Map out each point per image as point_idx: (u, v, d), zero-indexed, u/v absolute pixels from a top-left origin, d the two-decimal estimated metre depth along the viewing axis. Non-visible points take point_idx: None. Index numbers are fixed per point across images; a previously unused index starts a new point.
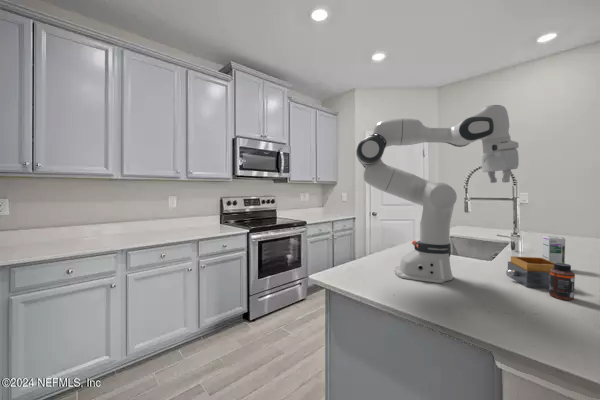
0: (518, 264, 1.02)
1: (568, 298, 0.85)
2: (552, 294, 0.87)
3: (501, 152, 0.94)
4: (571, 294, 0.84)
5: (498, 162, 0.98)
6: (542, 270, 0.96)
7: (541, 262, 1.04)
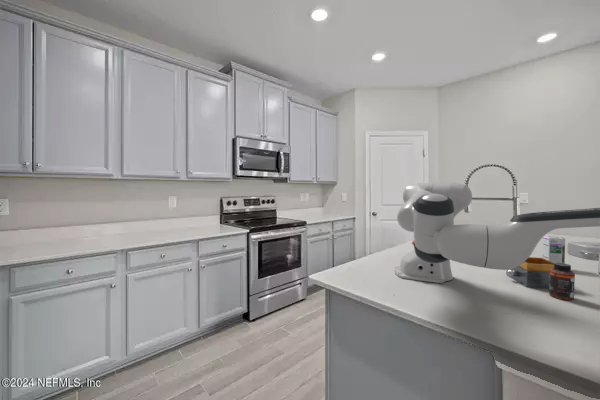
0: None
1: (568, 298, 0.85)
2: (552, 294, 0.87)
3: None
4: (571, 294, 0.84)
5: None
6: (542, 270, 0.96)
7: (541, 262, 1.04)
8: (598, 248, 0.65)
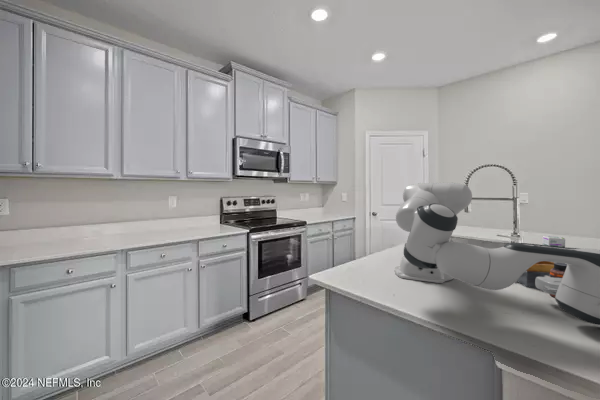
0: None
1: None
2: None
3: None
4: None
5: None
6: (542, 270, 0.96)
7: (541, 262, 1.04)
8: (558, 285, 0.78)
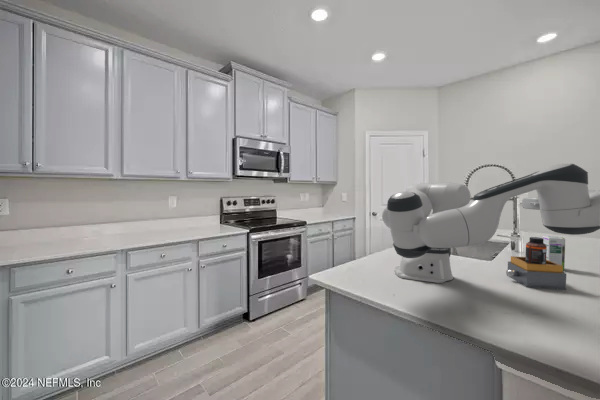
0: (518, 264, 1.02)
1: None
2: None
3: None
4: (543, 263, 0.98)
5: None
6: (542, 270, 0.96)
7: None
8: None
